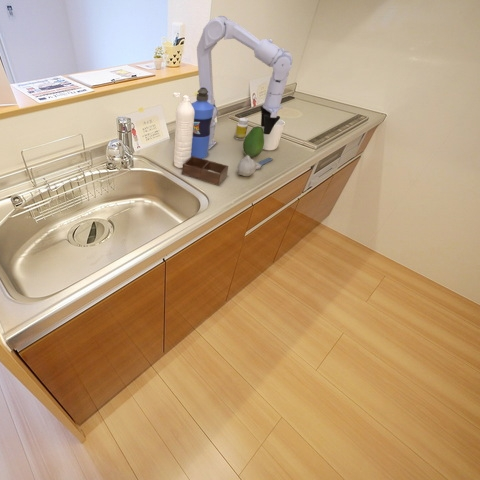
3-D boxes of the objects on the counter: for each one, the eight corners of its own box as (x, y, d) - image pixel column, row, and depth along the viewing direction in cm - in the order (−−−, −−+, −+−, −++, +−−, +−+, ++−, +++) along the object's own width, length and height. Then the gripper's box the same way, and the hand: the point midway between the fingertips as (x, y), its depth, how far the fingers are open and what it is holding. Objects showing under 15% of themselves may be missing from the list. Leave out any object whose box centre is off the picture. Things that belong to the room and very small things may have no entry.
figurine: (257, 178, 101) (264, 158, 95) (240, 180, 100) (246, 161, 94) (249, 168, 105) (255, 149, 99) (232, 170, 104) (237, 151, 98)
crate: (182, 174, 103) (182, 164, 100) (191, 165, 108) (192, 155, 105) (218, 185, 97) (220, 175, 94) (226, 175, 102) (228, 165, 99)
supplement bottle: (245, 140, 124) (249, 121, 119) (234, 139, 125) (238, 120, 119) (244, 136, 128) (248, 117, 122) (234, 135, 129) (238, 117, 123)
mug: (286, 145, 121) (294, 120, 113) (268, 152, 115) (276, 127, 108) (270, 139, 126) (277, 114, 118) (252, 145, 121) (258, 120, 113)
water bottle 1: (193, 164, 108) (200, 96, 91) (182, 170, 105) (186, 100, 88) (177, 157, 113) (181, 90, 95) (166, 162, 109) (167, 94, 92)
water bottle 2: (195, 146, 120) (202, 83, 102) (212, 154, 115) (221, 88, 97) (180, 153, 115) (184, 87, 98) (197, 161, 110) (204, 93, 93)
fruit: (237, 156, 113) (243, 127, 105) (245, 150, 118) (251, 121, 109) (256, 162, 109) (263, 132, 101) (263, 155, 114) (271, 125, 106)
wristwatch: (234, 172, 104) (234, 170, 103) (266, 157, 112) (267, 155, 112) (243, 177, 101) (243, 174, 100) (275, 161, 110) (276, 159, 109)
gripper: (290, 99, 93) (278, 138, 103) (282, 87, 104) (272, 123, 113) (269, 98, 94) (259, 137, 103) (263, 86, 104) (254, 122, 114)
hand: (265, 130), depth 108 cm, fingers open, 7 cm apart
